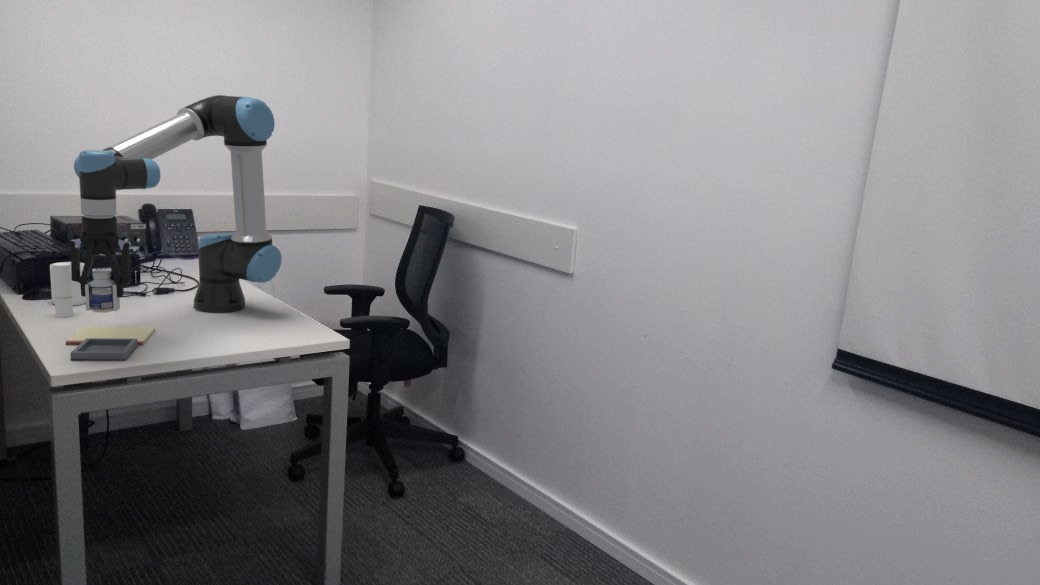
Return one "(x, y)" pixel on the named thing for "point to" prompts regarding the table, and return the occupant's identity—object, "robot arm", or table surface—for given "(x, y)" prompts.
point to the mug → (76, 287)
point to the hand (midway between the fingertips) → (103, 309)
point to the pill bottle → (101, 291)
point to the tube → (62, 289)
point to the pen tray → (104, 349)
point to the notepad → (111, 334)
